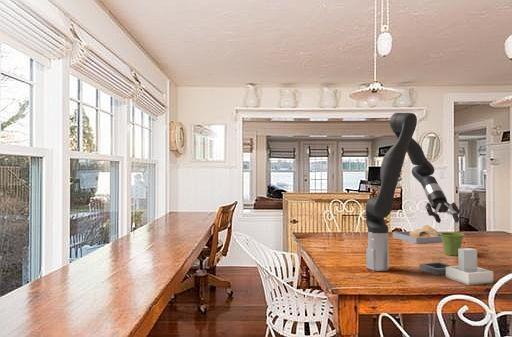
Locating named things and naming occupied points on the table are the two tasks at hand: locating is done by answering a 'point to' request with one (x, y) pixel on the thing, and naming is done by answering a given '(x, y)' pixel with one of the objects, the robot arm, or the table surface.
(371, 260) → the robot arm
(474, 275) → the bin
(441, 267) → the collar
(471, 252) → the skincare box
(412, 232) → the tan rock hide
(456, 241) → the plant pot
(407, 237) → the tray rim
